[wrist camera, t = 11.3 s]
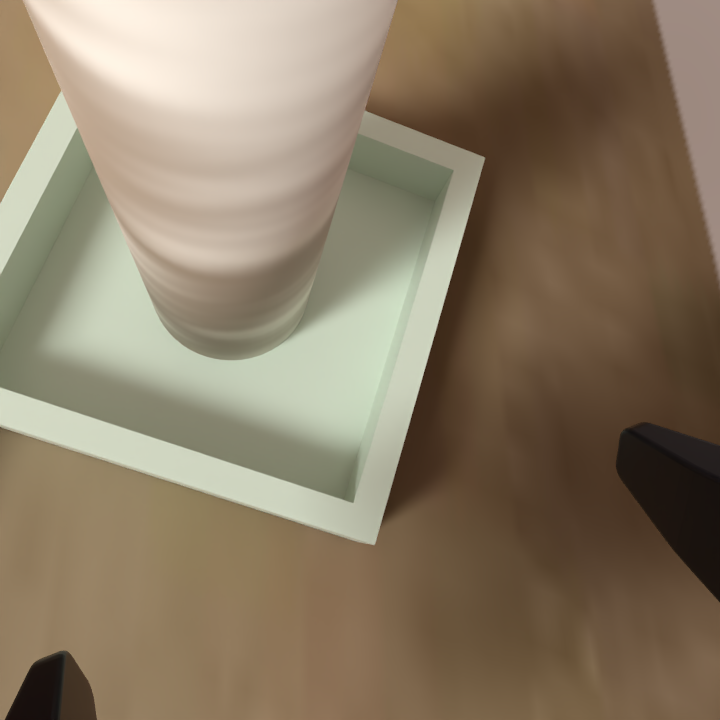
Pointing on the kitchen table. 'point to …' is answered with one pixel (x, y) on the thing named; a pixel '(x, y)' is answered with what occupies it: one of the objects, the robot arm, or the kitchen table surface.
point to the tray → (234, 377)
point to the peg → (219, 145)
